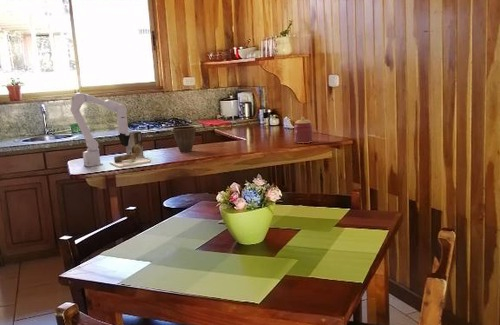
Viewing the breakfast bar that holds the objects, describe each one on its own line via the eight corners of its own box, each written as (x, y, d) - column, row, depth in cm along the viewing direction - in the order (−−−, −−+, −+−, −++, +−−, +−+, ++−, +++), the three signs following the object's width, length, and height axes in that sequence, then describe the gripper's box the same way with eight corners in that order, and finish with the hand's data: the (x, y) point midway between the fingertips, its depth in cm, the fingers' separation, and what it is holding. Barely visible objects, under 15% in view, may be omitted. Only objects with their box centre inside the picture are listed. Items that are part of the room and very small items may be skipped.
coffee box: (137, 155, 338) (135, 130, 335) (143, 155, 334) (141, 131, 331) (126, 157, 331) (123, 132, 328) (132, 158, 327) (130, 133, 324)
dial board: (118, 167, 301) (118, 165, 300) (110, 163, 314) (109, 161, 314) (150, 162, 311) (150, 160, 311) (141, 158, 324) (140, 156, 324)
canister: (313, 140, 359) (312, 115, 355) (313, 143, 346) (312, 117, 342) (294, 141, 360) (293, 116, 356) (294, 144, 347) (293, 118, 344)
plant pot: (201, 150, 341) (199, 126, 338) (182, 154, 332) (180, 129, 329) (188, 148, 353) (187, 125, 349) (170, 152, 343) (168, 128, 340)
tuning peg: (116, 162, 309) (115, 157, 309) (113, 161, 313) (113, 156, 312) (136, 159, 316) (136, 153, 316) (134, 158, 320) (133, 153, 319)
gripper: (133, 124, 312) (135, 146, 315) (124, 122, 324) (127, 143, 327) (122, 125, 309) (124, 147, 311) (113, 123, 321) (116, 145, 323)
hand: (124, 145), depth 319 cm, fingers open, 4 cm apart
